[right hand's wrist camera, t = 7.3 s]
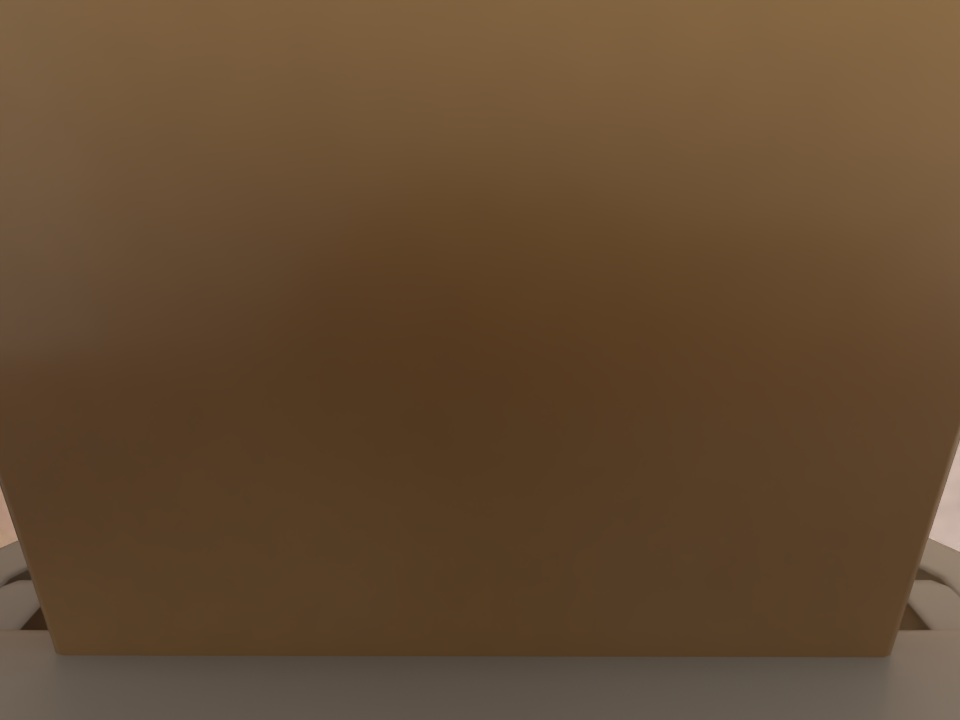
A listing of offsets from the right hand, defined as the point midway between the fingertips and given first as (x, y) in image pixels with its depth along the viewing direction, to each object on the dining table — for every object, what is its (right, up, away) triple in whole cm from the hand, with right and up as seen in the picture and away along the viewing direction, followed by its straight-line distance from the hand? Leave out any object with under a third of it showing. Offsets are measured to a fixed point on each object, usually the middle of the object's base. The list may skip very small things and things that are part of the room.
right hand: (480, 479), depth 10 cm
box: (0, +9, 0) cm, 9 cm away
